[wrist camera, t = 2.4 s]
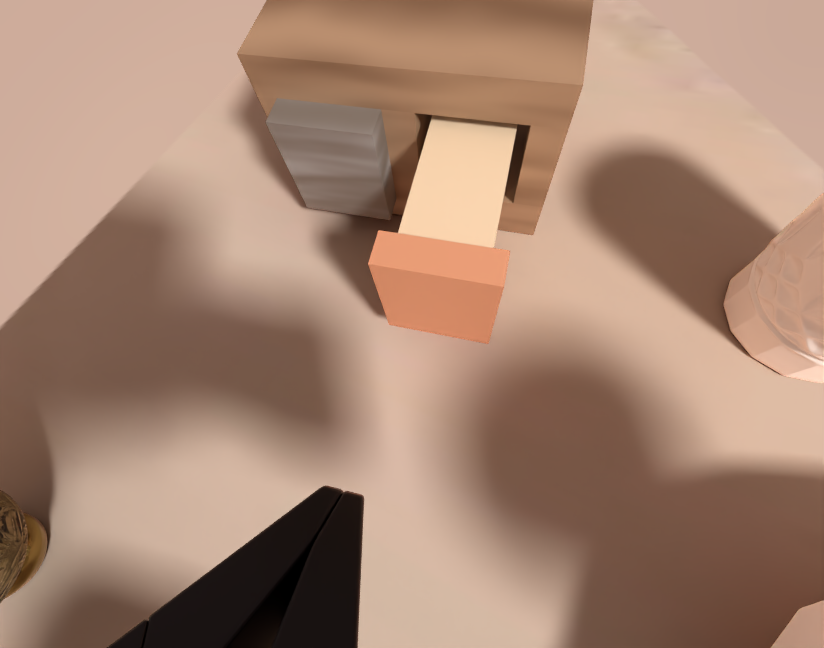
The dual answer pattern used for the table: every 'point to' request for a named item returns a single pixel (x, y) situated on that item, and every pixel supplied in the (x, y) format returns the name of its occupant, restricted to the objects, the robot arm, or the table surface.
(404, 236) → the plug
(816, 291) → the white cup
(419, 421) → the table surface
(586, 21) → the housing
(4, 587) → the cup
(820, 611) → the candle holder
